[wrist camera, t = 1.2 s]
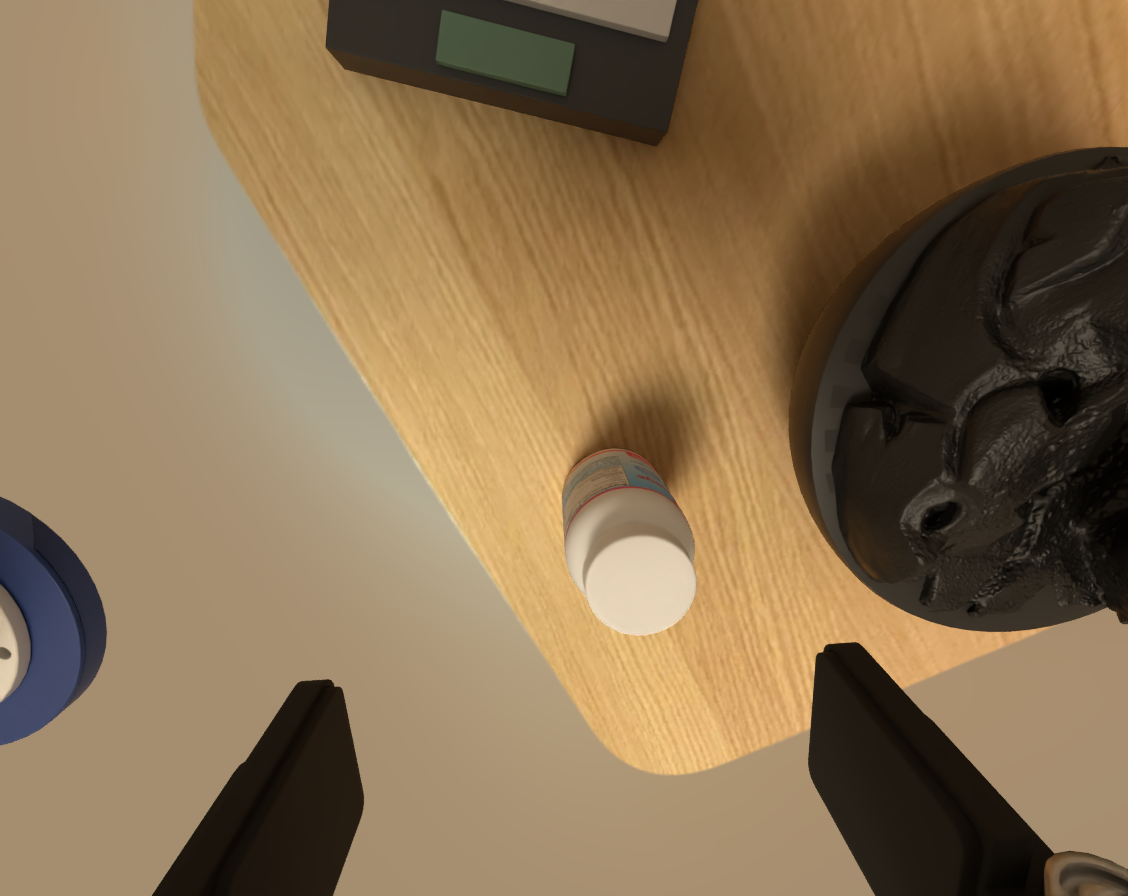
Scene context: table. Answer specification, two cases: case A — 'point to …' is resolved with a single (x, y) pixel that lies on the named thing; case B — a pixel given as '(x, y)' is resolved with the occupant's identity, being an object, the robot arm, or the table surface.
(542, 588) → the table surface
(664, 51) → the scale
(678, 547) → the pill bottle
